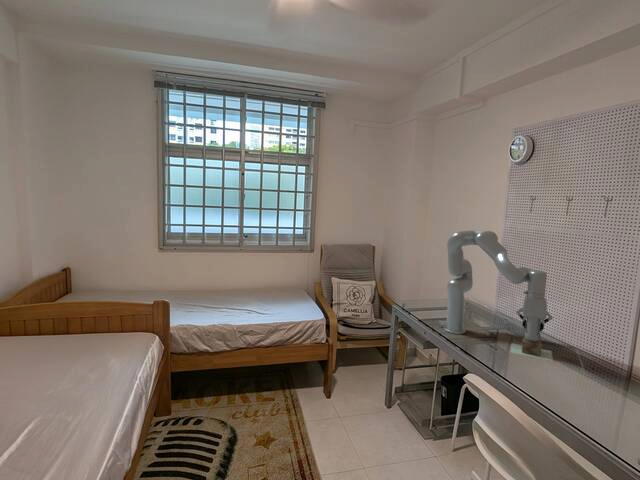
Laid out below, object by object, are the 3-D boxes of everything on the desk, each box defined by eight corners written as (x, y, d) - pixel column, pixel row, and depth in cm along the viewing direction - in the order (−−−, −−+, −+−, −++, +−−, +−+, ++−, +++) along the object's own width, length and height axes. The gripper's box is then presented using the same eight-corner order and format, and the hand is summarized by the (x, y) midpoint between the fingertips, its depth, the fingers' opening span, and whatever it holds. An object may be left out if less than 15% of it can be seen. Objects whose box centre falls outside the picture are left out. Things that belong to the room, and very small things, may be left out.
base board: (510, 354, 173) (510, 352, 172) (511, 345, 184) (511, 343, 184) (553, 363, 163) (553, 361, 163) (551, 353, 175) (551, 350, 174)
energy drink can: (525, 336, 177) (528, 308, 175) (539, 339, 173) (542, 311, 171) (523, 339, 172) (526, 311, 170) (537, 343, 169) (540, 314, 167)
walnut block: (521, 352, 172) (522, 341, 171) (522, 346, 179) (522, 336, 178) (540, 356, 168) (541, 345, 167) (540, 350, 175) (541, 339, 174)
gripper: (515, 294, 171) (512, 328, 173) (557, 299, 162) (553, 335, 165) (516, 290, 178) (513, 323, 180) (556, 295, 169) (552, 330, 171)
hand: (532, 329), depth 172 cm, fingers open, 6 cm apart
